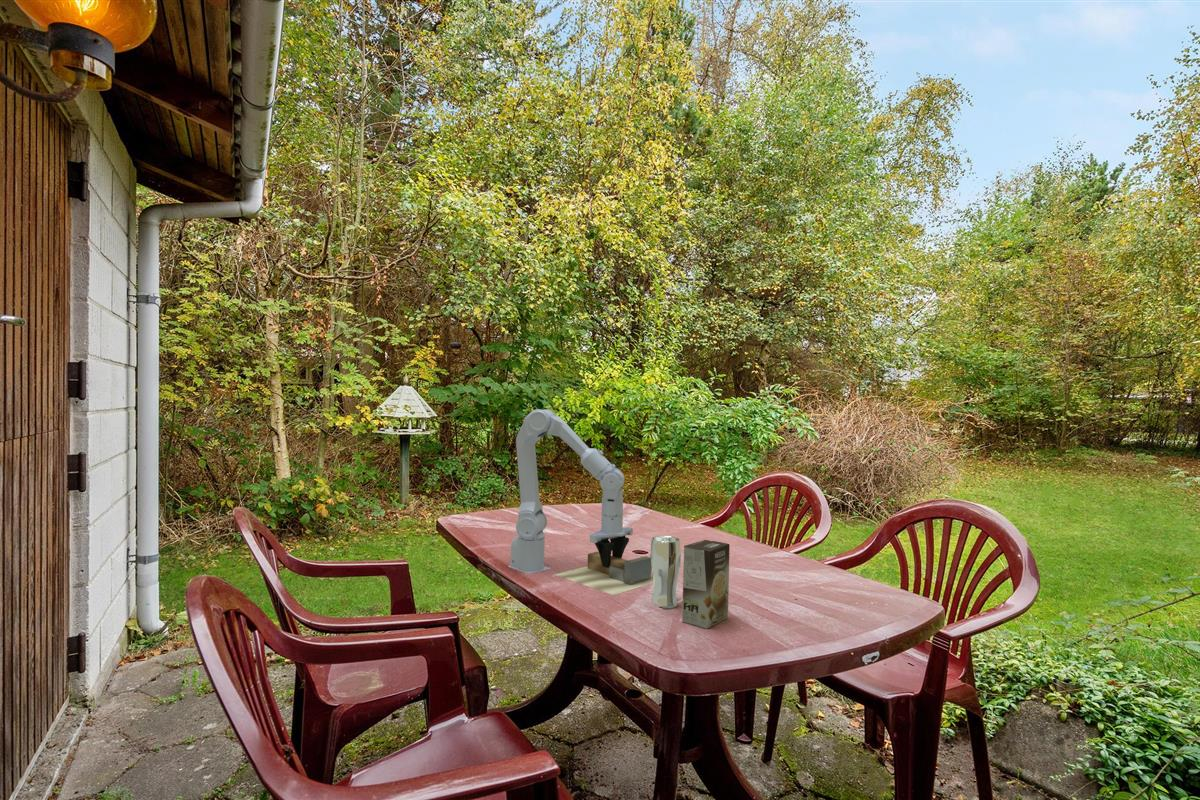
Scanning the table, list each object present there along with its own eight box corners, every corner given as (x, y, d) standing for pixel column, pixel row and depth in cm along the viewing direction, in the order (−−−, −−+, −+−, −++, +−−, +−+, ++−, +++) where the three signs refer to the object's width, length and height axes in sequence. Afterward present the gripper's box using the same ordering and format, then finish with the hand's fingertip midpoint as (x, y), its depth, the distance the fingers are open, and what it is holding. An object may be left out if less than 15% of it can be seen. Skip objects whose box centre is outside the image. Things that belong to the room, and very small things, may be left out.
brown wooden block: (587, 568, 160) (587, 553, 160) (596, 566, 162) (596, 551, 162) (624, 579, 150) (625, 564, 150) (634, 577, 152) (634, 561, 152)
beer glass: (644, 606, 132) (645, 539, 132) (656, 597, 138) (657, 534, 138) (673, 611, 129) (674, 543, 129) (684, 602, 135) (685, 537, 135)
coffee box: (708, 629, 119) (709, 551, 119) (681, 622, 123) (682, 545, 123) (729, 617, 126) (730, 543, 126) (702, 610, 130) (704, 538, 130)
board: (553, 576, 153) (553, 574, 153) (601, 564, 166) (602, 562, 166) (613, 597, 138) (613, 595, 138) (662, 582, 150) (662, 579, 150)
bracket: (607, 578, 151) (607, 556, 151) (628, 572, 157) (628, 551, 157) (630, 585, 145) (630, 563, 145) (650, 578, 151) (651, 557, 151)
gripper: (603, 520, 148) (602, 573, 148) (641, 513, 158) (640, 563, 158) (584, 516, 153) (583, 568, 153) (622, 509, 163) (621, 558, 163)
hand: (611, 565), depth 156 cm, fingers closed on brown wooden block, 3 cm apart
